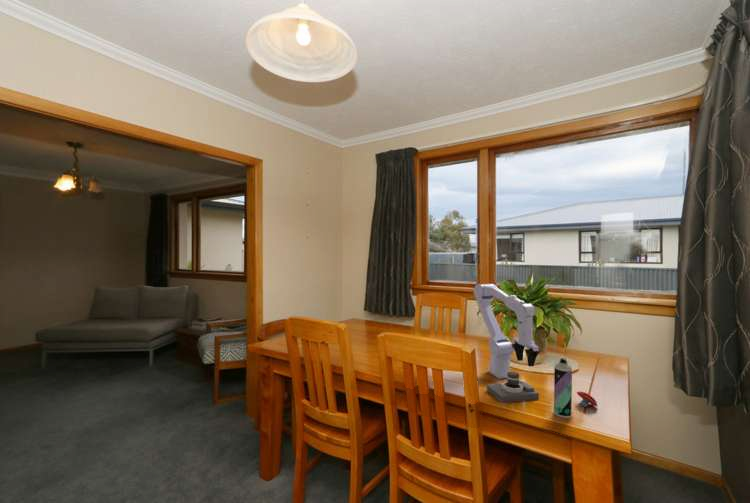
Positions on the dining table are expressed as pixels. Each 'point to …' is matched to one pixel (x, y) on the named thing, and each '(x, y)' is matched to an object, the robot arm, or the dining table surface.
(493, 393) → the camera body
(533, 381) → the dining table surface
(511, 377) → the lens
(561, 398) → the spray can
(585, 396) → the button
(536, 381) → the dining table surface
